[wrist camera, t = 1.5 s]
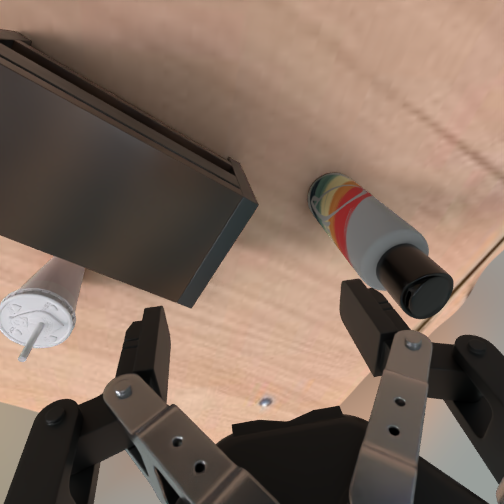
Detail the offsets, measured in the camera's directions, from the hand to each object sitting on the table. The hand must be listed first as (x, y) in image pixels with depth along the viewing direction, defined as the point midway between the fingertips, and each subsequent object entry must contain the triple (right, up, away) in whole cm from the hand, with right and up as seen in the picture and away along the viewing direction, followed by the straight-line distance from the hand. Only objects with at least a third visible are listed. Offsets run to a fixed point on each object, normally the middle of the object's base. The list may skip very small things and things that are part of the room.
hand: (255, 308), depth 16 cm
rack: (-14, +12, +19) cm, 26 cm away
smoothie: (-21, +1, +24) cm, 32 cm away
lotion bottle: (+9, +9, +25) cm, 28 cm away
